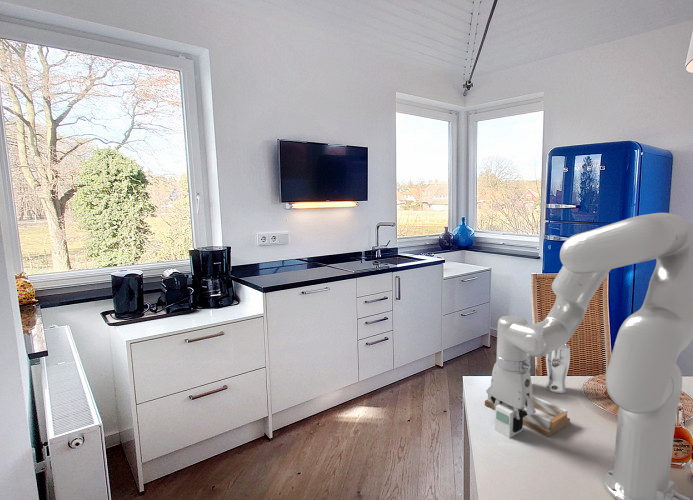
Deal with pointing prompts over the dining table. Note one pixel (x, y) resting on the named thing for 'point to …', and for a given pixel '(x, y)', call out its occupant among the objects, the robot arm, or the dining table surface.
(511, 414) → the block
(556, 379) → the beer glass
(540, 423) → the rail board
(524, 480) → the dining table surface
